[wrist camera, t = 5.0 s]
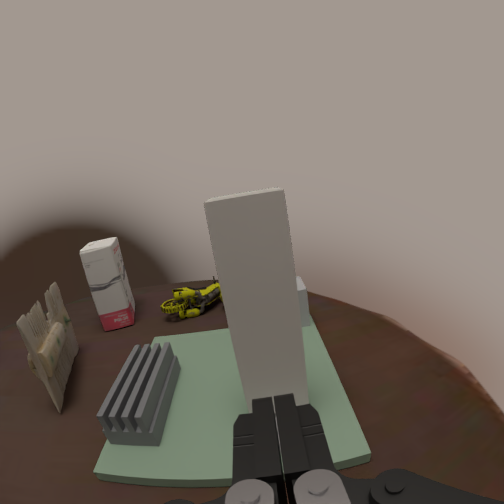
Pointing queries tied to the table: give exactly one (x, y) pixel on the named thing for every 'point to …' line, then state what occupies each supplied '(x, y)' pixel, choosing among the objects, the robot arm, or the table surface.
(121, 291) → the ink box
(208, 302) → the toy motorcycle
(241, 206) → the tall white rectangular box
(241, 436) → the robot arm
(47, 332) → the comb
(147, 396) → the base
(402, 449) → the table surface
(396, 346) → the table surface
